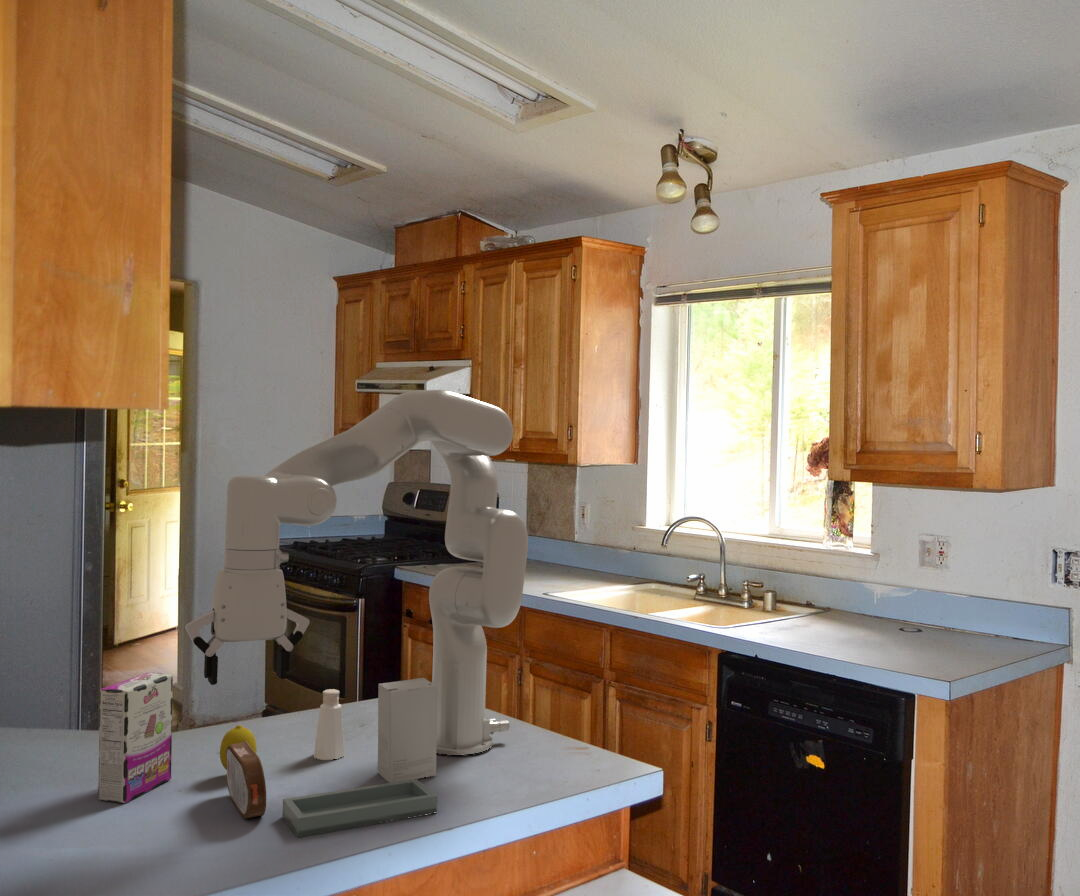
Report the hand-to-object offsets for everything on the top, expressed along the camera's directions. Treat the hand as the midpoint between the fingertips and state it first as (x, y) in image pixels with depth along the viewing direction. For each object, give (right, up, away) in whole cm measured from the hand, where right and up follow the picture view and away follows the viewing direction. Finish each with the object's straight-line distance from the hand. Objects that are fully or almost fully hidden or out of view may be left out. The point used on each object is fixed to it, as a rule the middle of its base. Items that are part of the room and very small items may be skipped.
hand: (247, 680), depth 136 cm
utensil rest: (+17, -19, -2) cm, 25 cm away
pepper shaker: (+6, -19, +24) cm, 32 cm away
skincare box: (+21, -19, +15) cm, 32 cm away
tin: (0, -19, 0) cm, 19 cm away
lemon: (-6, -19, +13) cm, 23 cm away
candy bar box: (-19, -18, +6) cm, 27 cm away
